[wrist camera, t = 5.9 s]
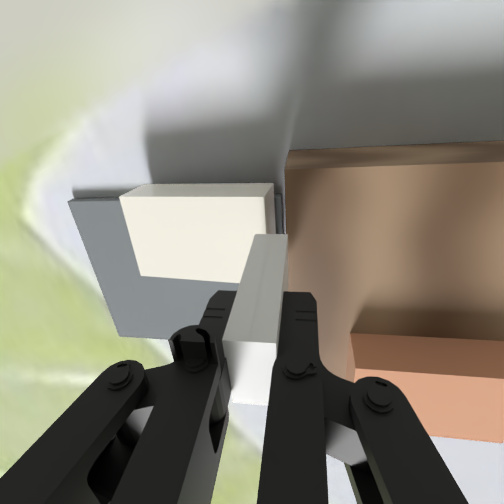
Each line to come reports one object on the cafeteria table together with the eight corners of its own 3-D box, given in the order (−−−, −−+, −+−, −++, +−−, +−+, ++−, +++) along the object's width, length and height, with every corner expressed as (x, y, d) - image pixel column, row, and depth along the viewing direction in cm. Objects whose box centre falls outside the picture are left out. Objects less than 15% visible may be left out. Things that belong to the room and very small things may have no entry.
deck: (635, 134, 14) (736, 153, 11) (517, 369, 22) (555, 423, 19) (289, 150, 17) (284, 169, 14) (292, 354, 25) (290, 399, 22)
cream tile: (273, 182, 17) (264, 196, 15) (277, 263, 19) (269, 285, 17) (144, 184, 19) (118, 196, 17) (161, 256, 21) (140, 275, 19)
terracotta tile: (506, 341, 16) (536, 381, 14) (480, 401, 19) (502, 443, 17) (350, 332, 18) (355, 368, 16) (344, 390, 20) (348, 427, 18)
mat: (281, 193, 19) (280, 197, 18) (286, 340, 24) (285, 346, 24) (73, 198, 21) (67, 201, 20) (123, 331, 27) (119, 336, 26)
